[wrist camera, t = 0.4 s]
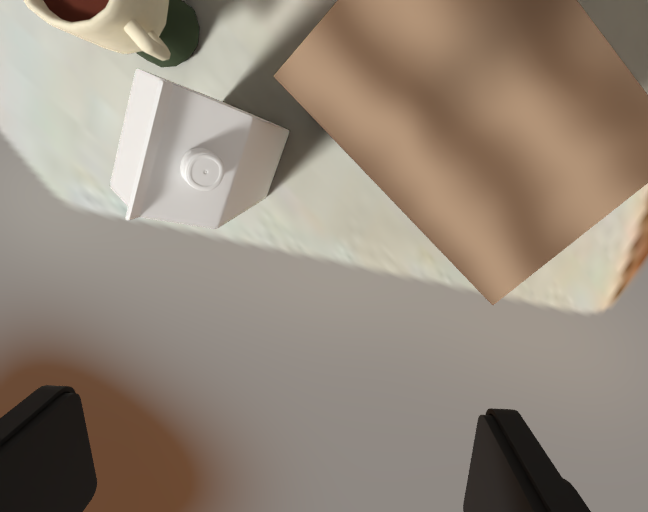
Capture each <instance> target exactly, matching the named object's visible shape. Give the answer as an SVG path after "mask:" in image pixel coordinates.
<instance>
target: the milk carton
mask: <svg viewBox="0 0 648 512" xmlns="http://www.w3.org/2000/svg"><path fill="white" fill-rule="evenodd" d="M288 135H289V130H288V129H286V128H283V127H281V126H279V125H276V124H274V123H272V122H269V121H267V120H264V119H262V118H260V117H257V116H255V115H253V114H250V113H248V112H246V111H243V110H241V109H238V108H236V107H234V106H231V105H229V104H227V103H224V102H222V101H219V100H217V99H214V98H212V97H209V96H207V95H204V94H202V93H199V92H196V91H194V90H191V89H189V88H186V87H184V86H181V85H179V84H176V83H174V82H171V81H169V80H166V79H163V78H161V77H158V76H156V75H153V74H151V73H148V72H146V71H143V70H141V69H138V68H136V70H135V74H134V79H133V83H132V87H131V92H130V96H129V101H128V105H127V110H126V114H125V119H124V123H123V128H122V132H121V137H120V141H119V146H118V150H117V154H116V159H115V163H114V168H113V172H112V177H111V182H110V187H111V189H112V190H113V191H114V192H115V193H116V194H117V195H118V196H119V197H120V198H121V199H122V201H123V202H124V203H125V204H126V205H127V206H128V209H127V213H126V218H125V219H126V220H132V219H135V218H138V217H142V218H148V219H154V220H161V221H167V222H173V223H180V224H186V225H192V226H198V227H205V228H211V229H217V228H219V227H220V226H222V225H224V224H225V223H227V222H229V221H230V220H232V219H233V218H235V217H237V216H238V215H240V214H241V213H243V212H245V211H246V210H248V209H249V208H251V207H252V206H254V205H256V204H257V203H259V202H260V201H262V200H264V199H265V198H266V197H267V194H268V191H269V189H270V186H271V183H272V180H273V177H274V175H275V172H276V169H277V166H278V163H279V160H280V158H281V155H282V152H283V149H284V146H285V144H286V141H287V138H288Z"/></svg>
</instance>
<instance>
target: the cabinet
mask: <svg viewBox="0 0 648 512" xmlns="http://www.w3.org/2000/svg"><path fill="white" fill-rule="evenodd" d="M274 77H275V79H276V80H277V81H278V82H279V83H280V84H281V85H282V86H283V87H284V88H285V89H286V90H287V91H288V92H289V93H290V94H291V95H292V96H293V97H294V98H295V99H296V101H297V102H298V103H299V104H300V105H301V106H302V107H303V108H304V109H305V110H306V111H307V112H308V113H309V114H310V115H311V116H312V117H313V118H314V119H315V120H316V121H317V122H318V124H319V125H320V126H321V127H322V128H323V129H324V130H325V131H326V132H327V133H328V134H329V135H330V136H331V137H332V138H333V139H334V140H335V141H336V142H337V143H338V144H339V145H340V146H341V148H342V149H343V150H344V151H345V152H346V153H347V154H348V155H349V156H350V157H351V158H352V159H353V160H354V161H355V162H356V163H357V164H358V165H359V166H360V167H361V168H362V169H363V171H364V172H365V173H366V174H367V175H368V176H369V177H370V178H371V179H372V180H373V181H374V182H375V183H376V184H377V185H378V186H379V187H380V188H381V189H382V190H383V191H384V192H385V194H386V195H387V196H388V197H389V198H390V199H391V200H392V201H393V202H394V203H395V204H396V205H397V206H398V207H399V208H400V209H401V210H402V211H403V212H404V213H405V214H406V215H407V216H408V218H409V219H410V220H411V221H412V222H413V223H414V224H415V225H416V226H417V227H418V228H419V229H420V230H421V231H422V232H423V233H424V234H425V235H426V236H427V237H428V238H429V239H430V241H431V242H432V243H433V244H434V245H435V246H436V247H437V248H438V249H439V250H440V251H441V252H442V253H443V254H444V255H445V256H446V257H447V258H448V259H449V260H450V261H451V262H452V263H453V265H454V266H455V267H456V268H457V269H458V270H459V271H460V272H461V273H462V274H463V275H464V276H465V277H466V278H467V279H468V280H469V281H470V282H471V283H472V284H473V285H474V286H475V288H476V289H477V290H478V291H479V292H480V293H481V294H482V295H483V296H484V297H485V298H486V299H487V300H488V301H489V302H490V303H491V304H492V305H494V304H495V303H496V302H498V301H499V300H500V299H501V298H503V297H504V296H505V295H507V294H508V293H509V292H510V291H512V290H513V289H514V288H515V287H517V286H518V285H519V284H520V283H522V282H523V281H524V280H526V279H527V278H528V277H529V276H531V275H532V274H533V273H534V272H536V271H537V270H538V269H539V268H541V267H542V266H543V265H545V264H546V263H547V262H548V261H550V260H551V259H552V258H553V257H555V256H556V255H557V254H558V253H560V252H561V251H562V250H563V249H565V248H566V247H567V246H569V245H570V244H571V243H572V242H574V241H575V240H576V239H577V238H579V237H580V236H581V235H582V234H584V233H585V232H586V231H588V230H589V229H590V228H591V227H593V226H594V225H595V224H596V223H598V222H599V221H600V220H601V219H603V218H604V217H605V216H606V215H608V214H609V213H610V212H612V211H613V210H614V209H615V208H617V207H618V206H619V205H620V204H622V203H623V202H624V201H625V200H627V199H628V198H629V197H631V196H632V195H633V194H634V193H636V192H637V191H638V190H639V189H641V188H642V187H643V186H644V185H646V184H647V183H648V95H647V93H646V92H645V91H644V89H643V88H642V87H641V85H640V84H639V83H638V81H637V80H636V79H635V77H634V76H633V75H632V73H631V72H630V71H629V69H628V68H627V67H626V65H625V64H624V63H623V61H622V60H621V59H620V57H619V56H618V55H617V53H616V52H615V51H614V49H613V48H612V47H611V45H610V44H609V42H608V41H607V40H606V38H605V37H604V36H603V34H602V33H601V32H600V30H599V29H598V28H597V26H596V25H595V24H594V22H593V21H592V20H591V18H590V17H589V16H588V14H587V13H586V12H585V10H584V9H583V8H582V6H581V5H580V4H579V2H578V1H577V0H338V1H337V2H336V3H335V4H334V5H333V6H332V8H331V9H330V10H329V11H328V12H327V14H326V15H325V16H324V17H323V18H322V19H321V21H320V22H319V23H318V24H317V25H316V26H315V28H314V29H313V30H312V31H311V32H310V34H309V35H308V36H307V37H306V38H305V39H304V41H303V42H302V43H301V44H300V45H299V46H298V48H297V49H296V50H295V51H294V52H293V54H292V55H291V56H290V57H289V58H288V59H287V61H286V62H285V63H284V64H283V65H282V66H281V68H280V69H279V70H278V71H277V72H276V74H275V75H274Z"/></svg>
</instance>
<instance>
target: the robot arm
mask: <svg viewBox="0 0 648 512" xmlns="http://www.w3.org/2000/svg"><path fill="white" fill-rule="evenodd" d="M96 487H97V478H96V474H95V469H94V463H93V458H92V453H91V448H90V443H89V438H88V433H87V429H86V423H85V418H84V413H83V408H82V404H81V399H80V396H79V395H78V394H76V393H75V391H74V389H73V388H72V387H68V386H49V385H46V386H42V387H40V388H38V389H37V390H36V391H34V392H33V393H32V394H31V395H29V396H28V397H27V398H26V399H24V400H23V401H22V402H20V403H19V404H18V405H17V406H15V407H14V408H13V409H12V410H10V411H9V412H8V413H7V414H5V415H4V416H3V417H2V418H0V512H83V510H84V509H85V508H86V506H87V505H88V503H89V502H90V501H91V499H92V497H93V496H94V493H95V490H96ZM463 511H464V512H591V511H590V510H589V508H588V507H587V506H586V504H585V503H584V501H583V500H582V498H581V497H580V495H579V494H578V492H577V491H576V490H575V488H574V487H573V486H572V485H571V484H570V483H569V482H568V481H567V480H565V479H563V478H562V477H561V476H560V474H559V472H558V471H557V469H556V468H555V466H554V465H553V463H552V462H551V460H550V459H549V457H548V456H547V454H546V453H545V451H544V450H543V448H542V447H541V445H540V444H539V442H538V441H537V439H536V438H535V436H534V435H533V433H532V432H531V430H530V429H529V427H528V426H527V424H526V423H525V421H524V420H523V418H522V417H521V415H520V414H519V413H518V411H516V410H510V409H509V410H508V409H488V410H487V412H486V415H480V416H479V418H478V423H477V428H476V434H475V440H474V446H473V452H472V458H471V463H470V470H469V475H468V481H467V487H466V493H465V498H464V505H463Z"/></svg>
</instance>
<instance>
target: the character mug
mask: <svg viewBox="0 0 648 512" xmlns="http://www.w3.org/2000/svg"><path fill="white" fill-rule="evenodd" d="M23 1H24V2H25V4H26V5H27V7H28V8H29V9H30V10H32V11H33V12H34V13H35V14H37V15H38V16H39V17H41V18H42V19H43V20H44V21H46V22H47V23H48V24H50V25H52V26H54V27H56V28H58V29H60V30H63V31H65V32H68V33H70V34H72V35H75V36H77V37H79V38H82V39H84V40H86V41H89V42H91V43H93V44H96V45H98V46H100V47H103V48H105V49H108V50H112V51H115V52H118V53H122V54H131V53H137V54H138V55H140V56H142V57H143V58H145V59H146V60H148V61H150V62H152V63H154V64H156V65H158V66H160V67H171V66H177V65H179V64H180V63H182V62H183V61H185V60H187V59H188V58H189V57H190V55H191V54H192V53H193V51H194V50H195V48H196V47H197V45H198V36H199V25H198V21H197V18H196V14H195V11H194V10H193V9H192V7H190V6H189V5H187V4H186V3H185V2H183V1H182V0H23Z"/></svg>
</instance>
